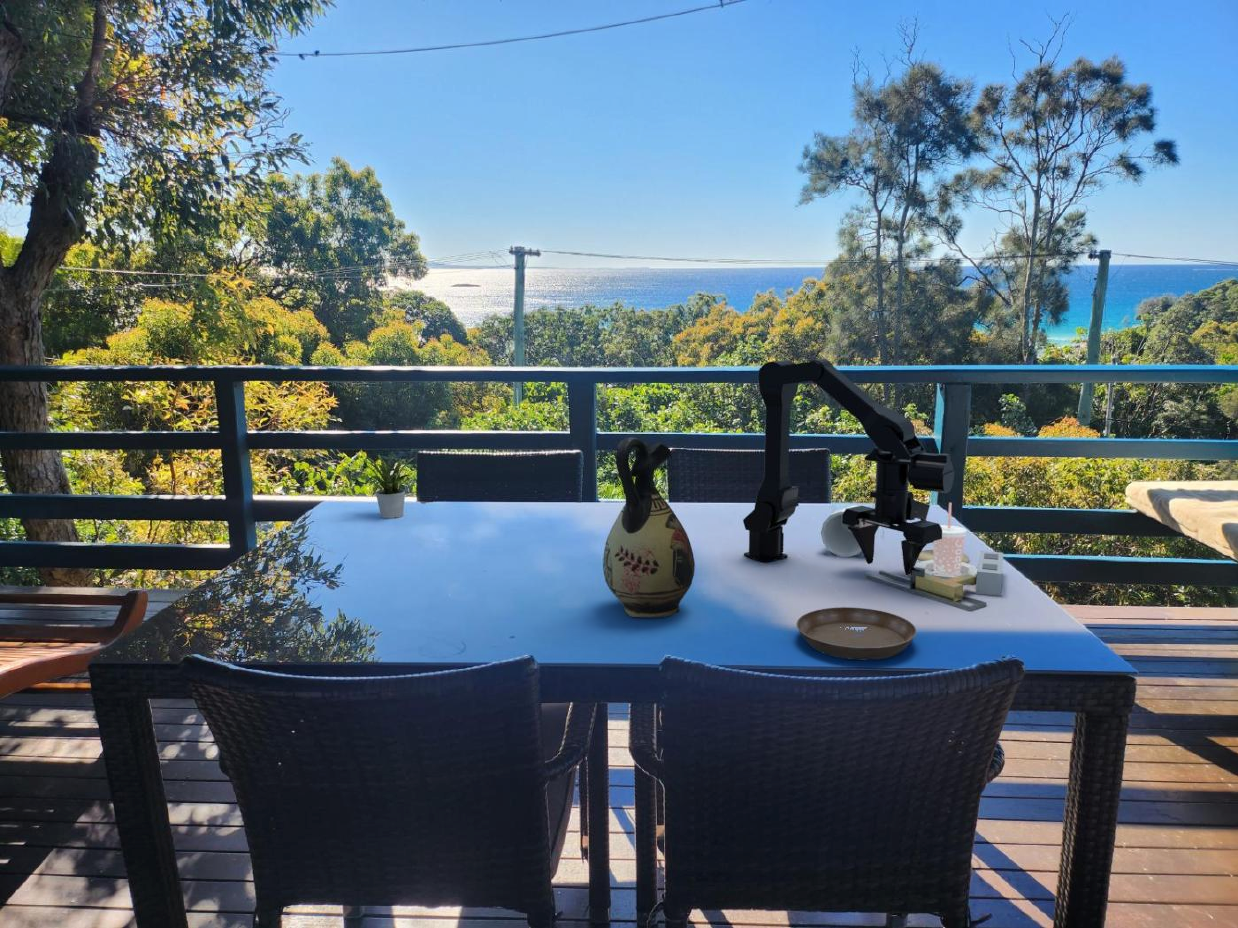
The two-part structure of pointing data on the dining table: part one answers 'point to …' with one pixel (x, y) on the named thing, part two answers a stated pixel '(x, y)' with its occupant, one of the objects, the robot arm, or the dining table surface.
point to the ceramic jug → (646, 539)
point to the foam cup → (839, 536)
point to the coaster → (929, 555)
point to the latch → (940, 584)
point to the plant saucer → (875, 641)
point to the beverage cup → (949, 548)
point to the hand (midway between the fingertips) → (888, 568)
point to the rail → (976, 602)
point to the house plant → (389, 489)
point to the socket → (976, 572)
